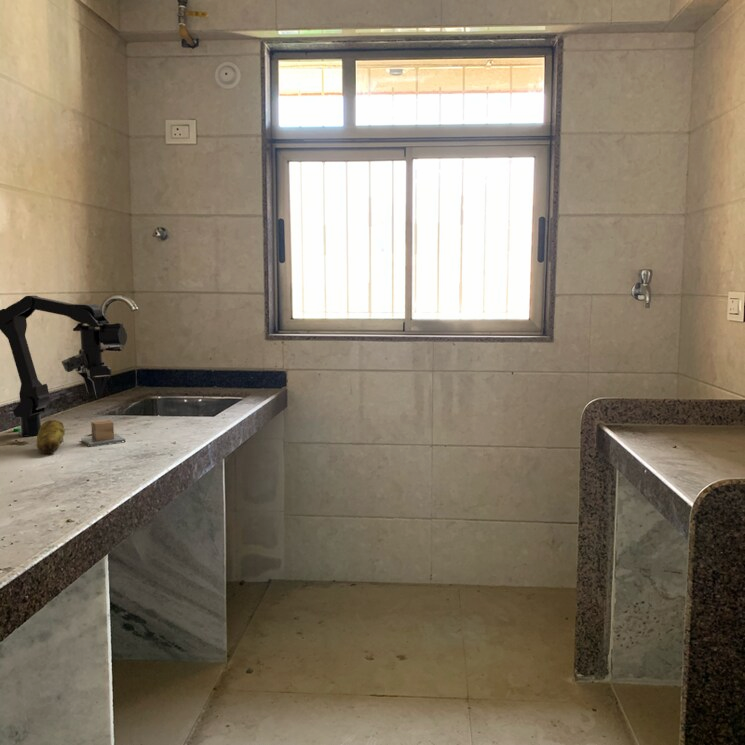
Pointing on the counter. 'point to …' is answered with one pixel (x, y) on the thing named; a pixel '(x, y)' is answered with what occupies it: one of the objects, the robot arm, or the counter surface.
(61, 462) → the counter surface
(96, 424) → the tan block
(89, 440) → the slate board
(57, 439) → the potato
